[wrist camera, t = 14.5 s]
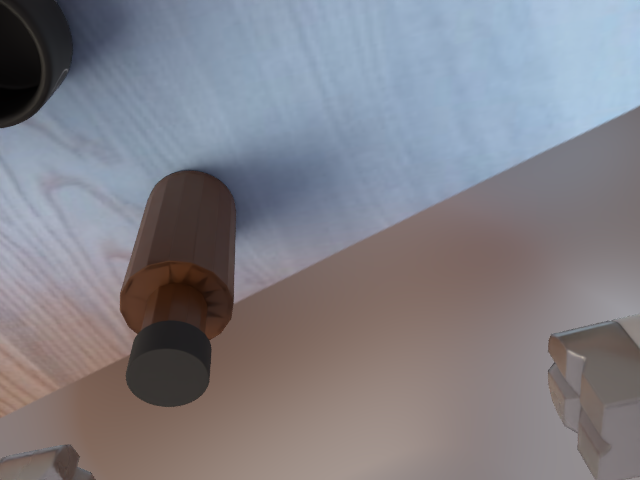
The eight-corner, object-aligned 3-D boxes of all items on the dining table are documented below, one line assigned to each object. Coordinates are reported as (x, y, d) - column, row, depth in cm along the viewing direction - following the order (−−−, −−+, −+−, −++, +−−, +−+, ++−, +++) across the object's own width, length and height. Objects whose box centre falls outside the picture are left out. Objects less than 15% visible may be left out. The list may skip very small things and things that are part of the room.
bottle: (165, 252, 51) (134, 401, 37) (134, 181, 48) (87, 317, 33) (245, 234, 51) (245, 376, 37) (221, 161, 47) (210, 289, 33)
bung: (152, 363, 38) (143, 414, 34) (125, 310, 36) (112, 359, 32) (221, 347, 38) (219, 397, 34) (199, 293, 35) (194, 340, 32)
